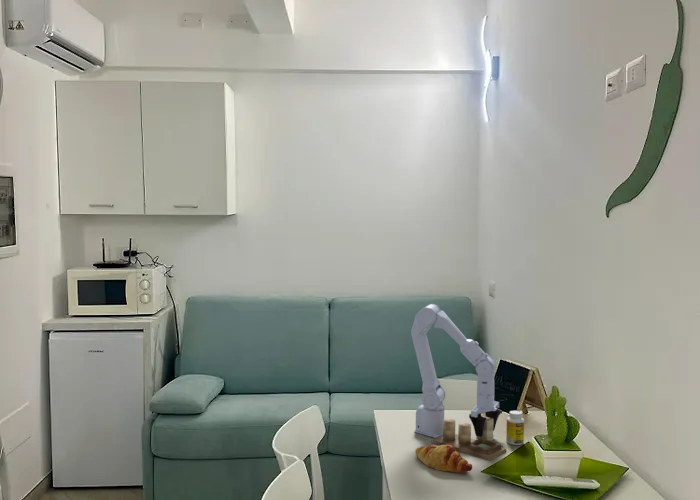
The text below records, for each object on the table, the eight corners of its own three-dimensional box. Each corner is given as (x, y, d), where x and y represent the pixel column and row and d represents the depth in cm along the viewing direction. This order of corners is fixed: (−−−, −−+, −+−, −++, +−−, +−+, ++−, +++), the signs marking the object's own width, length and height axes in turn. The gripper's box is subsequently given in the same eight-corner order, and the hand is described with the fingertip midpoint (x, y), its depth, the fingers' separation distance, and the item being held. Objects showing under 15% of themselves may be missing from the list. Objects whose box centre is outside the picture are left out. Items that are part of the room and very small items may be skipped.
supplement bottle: (515, 447, 212) (516, 416, 211) (502, 441, 216) (503, 411, 216) (527, 443, 215) (527, 413, 214) (514, 438, 219) (515, 408, 219)
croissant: (409, 469, 202) (401, 450, 199) (427, 447, 208) (420, 428, 205) (466, 488, 187) (458, 468, 184) (484, 464, 193) (476, 444, 190)
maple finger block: (475, 439, 219) (475, 418, 218) (481, 436, 222) (482, 415, 221) (486, 442, 216) (487, 421, 215) (493, 439, 219) (493, 418, 218)
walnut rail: (432, 442, 215) (432, 422, 215) (449, 435, 222) (449, 415, 222) (489, 460, 200) (489, 437, 200) (506, 451, 208) (506, 429, 207)
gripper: (484, 400, 210) (483, 441, 210) (507, 391, 220) (506, 430, 221) (465, 396, 214) (465, 436, 215) (489, 387, 225) (488, 425, 226)
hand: (485, 433), depth 218 cm, fingers open, 7 cm apart
